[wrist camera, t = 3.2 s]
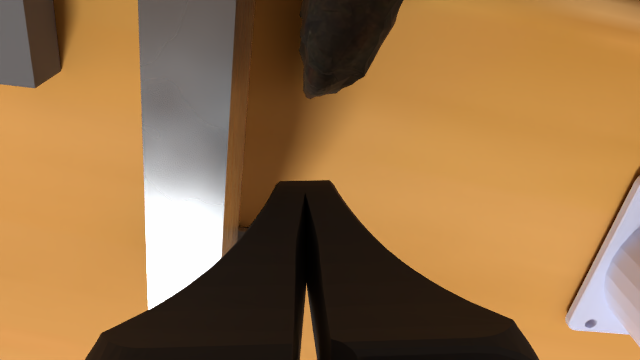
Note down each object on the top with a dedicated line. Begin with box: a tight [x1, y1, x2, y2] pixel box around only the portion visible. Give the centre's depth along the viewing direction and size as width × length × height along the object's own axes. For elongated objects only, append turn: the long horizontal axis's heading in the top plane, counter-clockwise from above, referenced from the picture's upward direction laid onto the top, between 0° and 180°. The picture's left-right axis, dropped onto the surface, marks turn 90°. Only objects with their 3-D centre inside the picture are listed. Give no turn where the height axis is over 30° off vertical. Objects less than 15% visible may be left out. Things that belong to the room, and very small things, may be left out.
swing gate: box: [138, 0, 255, 310], centre depth 12 cm, size 21×2×7 cm, turn 172°
